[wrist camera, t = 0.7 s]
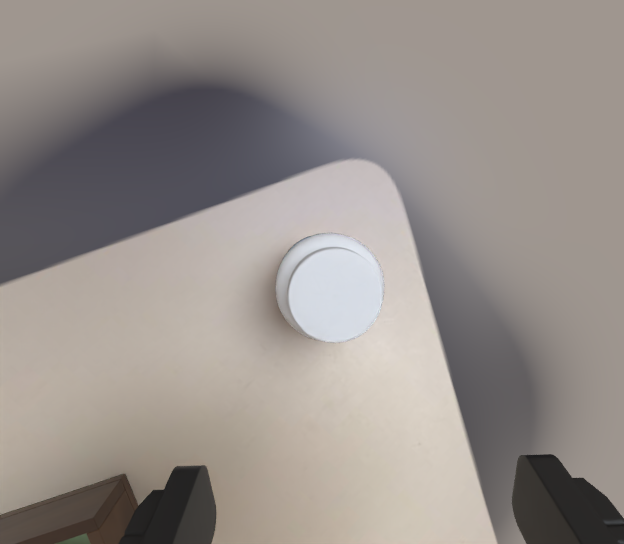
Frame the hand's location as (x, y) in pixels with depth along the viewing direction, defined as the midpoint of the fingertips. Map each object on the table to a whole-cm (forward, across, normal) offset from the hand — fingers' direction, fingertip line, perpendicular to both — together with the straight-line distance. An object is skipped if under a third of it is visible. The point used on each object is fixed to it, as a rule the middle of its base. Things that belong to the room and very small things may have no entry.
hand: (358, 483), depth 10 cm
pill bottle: (+16, +1, 0) cm, 17 cm away
